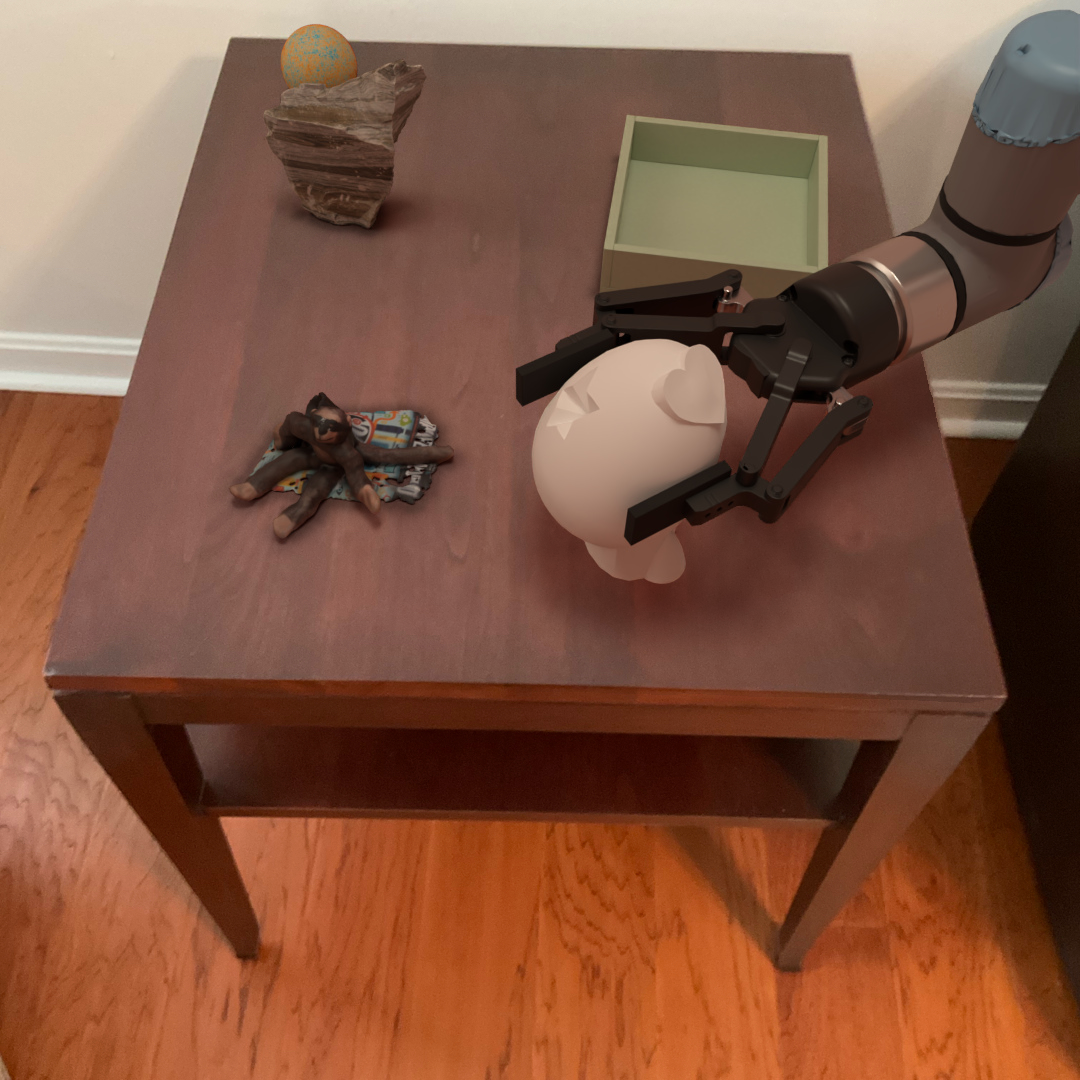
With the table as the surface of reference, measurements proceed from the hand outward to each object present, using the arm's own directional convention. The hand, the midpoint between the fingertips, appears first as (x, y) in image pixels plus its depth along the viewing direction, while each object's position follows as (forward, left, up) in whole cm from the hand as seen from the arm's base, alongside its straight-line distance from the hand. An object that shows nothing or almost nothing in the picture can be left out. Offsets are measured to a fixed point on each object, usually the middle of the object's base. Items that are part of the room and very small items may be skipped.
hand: (571, 454), depth 59 cm
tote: (-8, -36, -13) cm, 39 cm away
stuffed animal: (+17, -6, -13) cm, 22 cm away
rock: (+23, -34, -13) cm, 43 cm away
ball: (+30, -49, -13) cm, 59 cm away
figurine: (-3, -2, -9) cm, 10 cm away
